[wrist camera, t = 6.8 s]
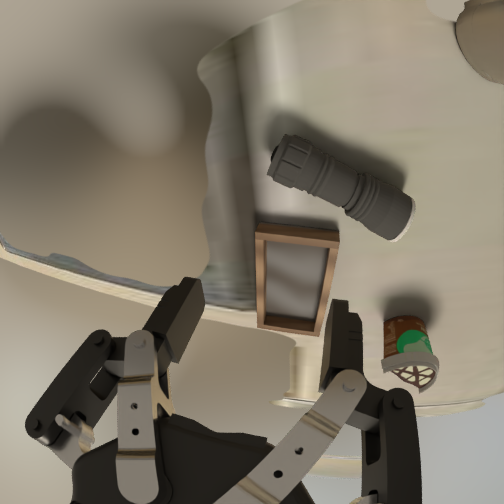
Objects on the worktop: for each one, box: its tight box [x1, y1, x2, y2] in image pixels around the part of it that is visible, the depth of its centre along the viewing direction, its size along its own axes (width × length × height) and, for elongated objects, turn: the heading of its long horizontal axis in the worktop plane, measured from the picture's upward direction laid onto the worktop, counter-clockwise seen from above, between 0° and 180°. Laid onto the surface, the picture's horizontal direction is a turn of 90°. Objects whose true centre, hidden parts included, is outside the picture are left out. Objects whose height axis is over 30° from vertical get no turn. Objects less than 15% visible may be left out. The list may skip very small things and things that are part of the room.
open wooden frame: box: [255, 222, 340, 337], centre depth 38 cm, size 18×10×2 cm, turn 2°
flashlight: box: [267, 134, 415, 242], centre depth 26 cm, size 15×5×5 cm, turn 70°
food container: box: [381, 316, 439, 394], centre depth 35 cm, size 12×6×10 cm, turn 57°
